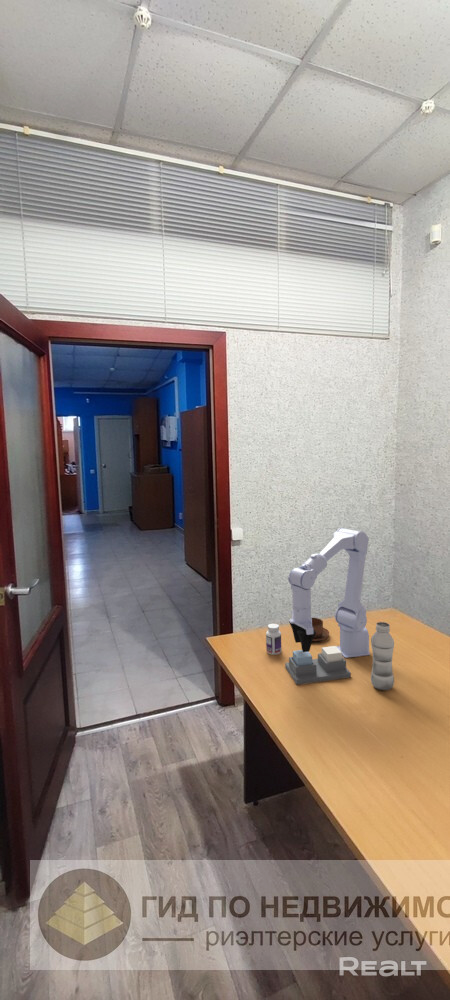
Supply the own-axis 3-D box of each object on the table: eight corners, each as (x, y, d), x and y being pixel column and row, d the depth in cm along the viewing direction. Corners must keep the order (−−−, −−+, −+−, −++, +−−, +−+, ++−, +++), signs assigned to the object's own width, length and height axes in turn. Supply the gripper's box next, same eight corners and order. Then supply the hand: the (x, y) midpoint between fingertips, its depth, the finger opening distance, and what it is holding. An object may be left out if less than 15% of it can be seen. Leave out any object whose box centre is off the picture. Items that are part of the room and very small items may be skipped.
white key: (335, 654, 148) (335, 645, 147) (341, 661, 143) (341, 652, 142) (321, 656, 147) (321, 647, 146) (327, 663, 142) (327, 654, 142)
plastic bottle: (395, 694, 131) (397, 629, 128) (371, 692, 132) (372, 628, 129) (392, 682, 137) (393, 620, 134) (369, 680, 138) (369, 619, 136)
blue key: (306, 657, 146) (306, 649, 145) (312, 665, 141) (312, 656, 141) (292, 659, 145) (292, 651, 144) (297, 667, 140) (297, 658, 140)
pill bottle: (281, 648, 162) (280, 622, 160) (281, 655, 156) (281, 629, 155) (266, 647, 162) (265, 622, 161) (266, 655, 157) (265, 628, 156)
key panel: (335, 660, 151) (336, 648, 151) (350, 677, 141) (350, 663, 140) (285, 667, 148) (285, 654, 148) (296, 684, 137) (296, 671, 137)
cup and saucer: (293, 632, 175) (292, 617, 174) (321, 628, 177) (321, 613, 176) (303, 645, 163) (303, 629, 163) (334, 641, 165) (334, 626, 165)
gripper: (282, 599, 147) (283, 638, 149) (297, 615, 133) (298, 658, 134) (302, 597, 148) (303, 635, 150) (319, 613, 134) (320, 656, 136)
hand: (302, 646), depth 142 cm, fingers open, 6 cm apart
